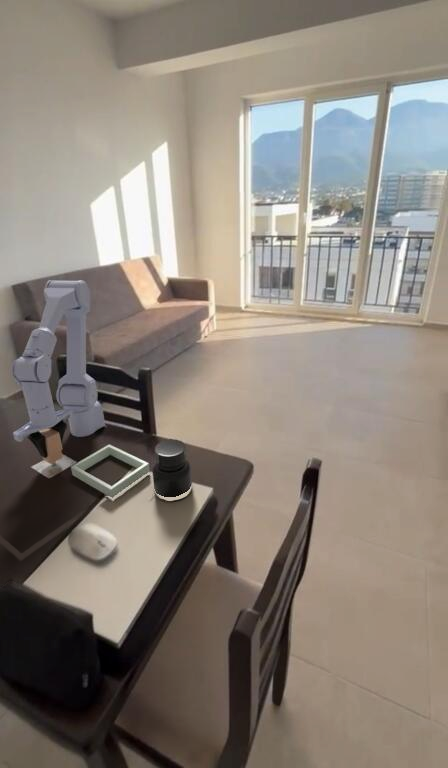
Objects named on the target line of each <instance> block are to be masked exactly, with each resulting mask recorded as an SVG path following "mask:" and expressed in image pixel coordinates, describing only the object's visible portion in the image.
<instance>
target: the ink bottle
mask: <svg viewBox="0 0 448 768" xmlns="http://www.w3.org/2000/svg"><path fill="white" fill-rule="evenodd" d="M186 451H187V450H186V445H185V443H184V442H183V441H182V440H179V439H164V440H163V441H159V442H158V443H157V444H156V445H155V447H154V454H155V455H154V456H155V463H154V464H153V467H152V479H153V480H152V483H153V489H155V491H156V493H157V494H159V495H161V496H164V497H176V496H179V495H181V494H183V493H185V492H187V491H188V490H189V489H190V487H191V485H192V486H193V482H192V478H193V477H192V467H191V463H190V462H189V460H188V459H187V452H186ZM155 491H154V492H155Z"/></svg>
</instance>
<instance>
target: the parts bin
mask: <svg viewBox="0 0 448 768" xmlns="http://www.w3.org/2000/svg"><path fill="white" fill-rule="evenodd" d="M109 456H112V457H113V458H116V459H118V460H120V461H122V462H123V463H126V464H128V465H130V466H131V467H134V468H136V469H134V470H133V471H132V472H130V473H129V474H127V475H126V476H125V477H122V479H120V480H118V481H117V482H116V483H114V484H113V485H110V484H109V483H107V482H105V481H103V480H101V479H100V478H97V477H95V476H94V475H92V474H90V473H88V472H86V471H85V470H87V469H90V468H91V467H93V466H94V465H96V464H97V463H99V462H101V461H102V460H104V459H106V458H108V457H109ZM70 470H71V473H72V475H71V476H74V477H75V478H76V479H78V480H80V481H82V482H83V483H85V484H87V485H89V486H90V487H92V488H94V489H96V490H98V491H99V492H101V493H102V494H104V495H103V497H104V496H110V497H112V498H113V497H114V496H115V495H117V494H118V493H119V492H121V491H122V490H123V489H125V488H126V487H128V486H129V485H131V484H132V483H133V482H135V481H136V480H138V479H139V478H141V477H142V476H143V475H145V474H147V473H148V472H150V471H151V470H150V463H149V462H147V461H145V460H143V459H140V458H139V457H137V456H134V455H132V454H130V453H128V452H126V451H125V450H122V449H120V448H118V447H115V446H113V445H111V444H107V445H105V446H104V447H102V448H100V449H98V450H97V451H96V452H94V453H92V454H90V455H89V456H87V457H85V458H83V459H82V460H80V461H78V462H77V463H75V464H73V465H72V466H70ZM150 473H151V472H150Z"/></svg>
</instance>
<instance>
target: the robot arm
mask: <svg viewBox="0 0 448 768" xmlns="http://www.w3.org/2000/svg"><path fill="white" fill-rule="evenodd" d="M43 296H44V299H45V302H46V303H45V306H44V310H43V313H42V317H41V319H40V322H39V323H40V324H39V326H38V327H39V328H36V329H33V330H32V331H31V333H30V337H29V339H28V341H27V343H26V346H25V349H24V351H23V352H22V355H21V356H20V357H19V358H17V359H15V360H14V362H13V364H12V373H11V375H12V378H13V380H15V382H16V383H17V385H18V387H19V388H20V389H21V390H22V393H23V397H24V400H25V405H26V409H27V412H28V413H27V414H28V417H29V422H27V423H26V424H24V425H23V426H21V427H20V428H19V429H16V430H15V431H14V432H12V436H13V438H14V440H15V441H17V442H18V443H20V442H23V441H24V439H26V438H27V440H29V441H30V442H31V444H33V445H34V447H35V448H36V450H37V451H38V453H39V455H40V456H41V457H44V458H46V457H48V456H47V450H46V446H45V436H43V435H41V433H40V432H39V431H41V430H45V429H48V428H51V429H53V430H55V431H57V432H59V434H60V439H61V443H62V444H63V439H64V435H65V432H66V430H67V427H68V425H67V422H65V421H64V420H66V419H68V424H69V430H70V434H71V435H72V436H74V437H78V438H79V437H81V438H82V437H87V436H91V435H92V434H94V433H95V432H96V431H98V430H99V429H101V428H103V427H106V428H107V426H106V422H105V416H104V411H103V406H102V405H101V403H100V402H99V401H98V397H99V396H98V390H97V384H96V380H95V379H94V378H93V377H91V376H90V375H89V374H88V373H87V314H88V313H90V311H91V291H90V287H89V286H88V284H87V282H86V281H84V280H83V279H80V280H55V279H54V280H53V279H49V280H47V282H46V284H45V285H44V290H43ZM63 316H65V319H66V374H65V375H63V376H62V377H60V379H59V380H58V385H57V390H56V395H55V397H56V401H57V403H58V404H59V406H62V408H63V409H61V410H58V411H57V410H56V411H55V406H54V401H53V397H52V392H51V388H50V384H49V383H50V382H49V379H50V378H51V376H52V363H53V360H52V355H53V353H54V349H55V346H56V344H57V342H58V338H57V336H56V334H55V333H56V331H57V328H58V327H59V324H60V323H61V320H62V318H63Z"/></svg>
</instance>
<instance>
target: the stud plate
mask: <svg viewBox="0 0 448 768" xmlns="http://www.w3.org/2000/svg"><path fill="white" fill-rule="evenodd" d="M62 456H63V458H61V459H59V460H57V461H55V462H54V463H52V464H50V463H48V462H46V461H45V460H43V459H42V460H41V461H40V462H38V463H36V464H34V465H32V466H30V468H32V469H33V470H35V471H36V472H38V473H39V474H41V475H42V476H44V477H46V478H47V479H50V478H53V477H54V476H56V475H59V474H60V473H61V472H63V471H64V470H67V469H68V468H71V466H73V465H75V464H76V463H78V462H77V461H76V460H74V459H72V458H70V457H68V456H67V455H65V454H63V453H62Z"/></svg>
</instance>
